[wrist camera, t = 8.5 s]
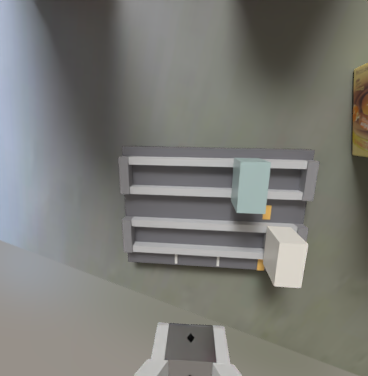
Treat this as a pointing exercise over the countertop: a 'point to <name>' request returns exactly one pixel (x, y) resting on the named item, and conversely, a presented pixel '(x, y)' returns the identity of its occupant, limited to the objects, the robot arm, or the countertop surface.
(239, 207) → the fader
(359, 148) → the candy box
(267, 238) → the fader
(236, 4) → the countertop surface
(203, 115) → the countertop surface
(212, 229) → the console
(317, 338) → the countertop surface
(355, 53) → the countertop surface
